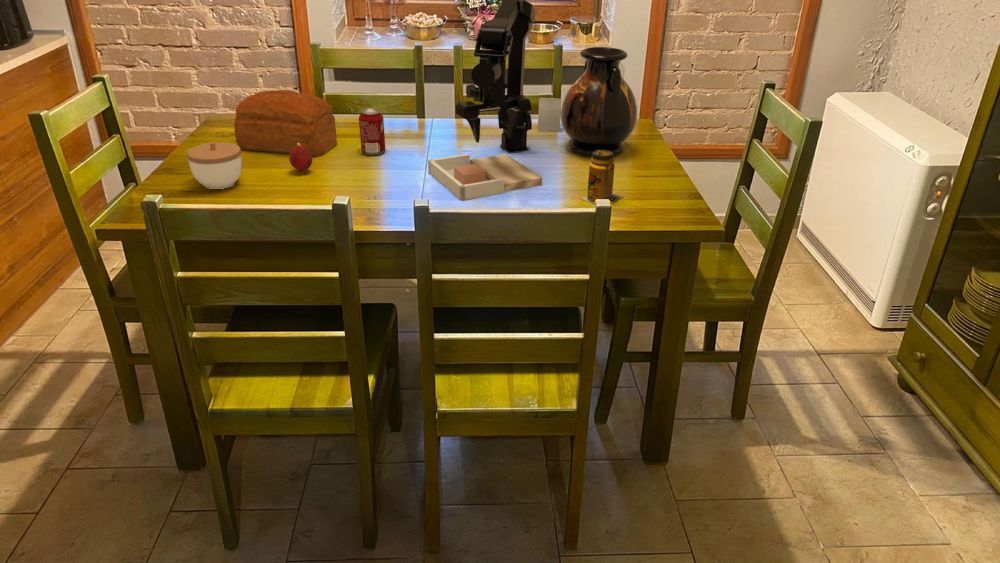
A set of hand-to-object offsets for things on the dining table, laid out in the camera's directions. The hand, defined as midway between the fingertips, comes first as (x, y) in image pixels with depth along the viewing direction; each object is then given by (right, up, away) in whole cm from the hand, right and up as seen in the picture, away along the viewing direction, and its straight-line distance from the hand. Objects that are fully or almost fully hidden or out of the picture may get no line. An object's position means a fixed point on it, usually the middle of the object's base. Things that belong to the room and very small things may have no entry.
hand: (493, 139), depth 188 cm
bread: (-60, +3, +25) cm, 65 cm away
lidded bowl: (-69, -12, -2) cm, 70 cm away
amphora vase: (+30, +2, +26) cm, 39 cm away
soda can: (-34, 0, +21) cm, 40 cm away
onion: (-51, -7, +7) cm, 52 cm away
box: (-7, -11, +2) cm, 13 cm away
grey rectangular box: (+17, +11, +42) cm, 46 cm away
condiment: (+27, -16, -6) cm, 32 cm away
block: (-6, -10, +2) cm, 12 cm away
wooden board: (+3, -8, +7) cm, 11 cm away
